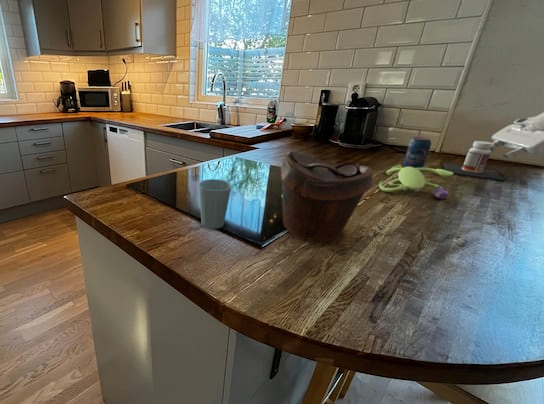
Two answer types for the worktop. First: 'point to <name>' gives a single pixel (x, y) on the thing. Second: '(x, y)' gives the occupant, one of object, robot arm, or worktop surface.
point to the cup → (214, 202)
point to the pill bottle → (477, 157)
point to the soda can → (417, 152)
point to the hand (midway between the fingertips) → (496, 153)
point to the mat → (485, 174)
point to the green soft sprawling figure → (415, 180)
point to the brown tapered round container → (320, 195)
